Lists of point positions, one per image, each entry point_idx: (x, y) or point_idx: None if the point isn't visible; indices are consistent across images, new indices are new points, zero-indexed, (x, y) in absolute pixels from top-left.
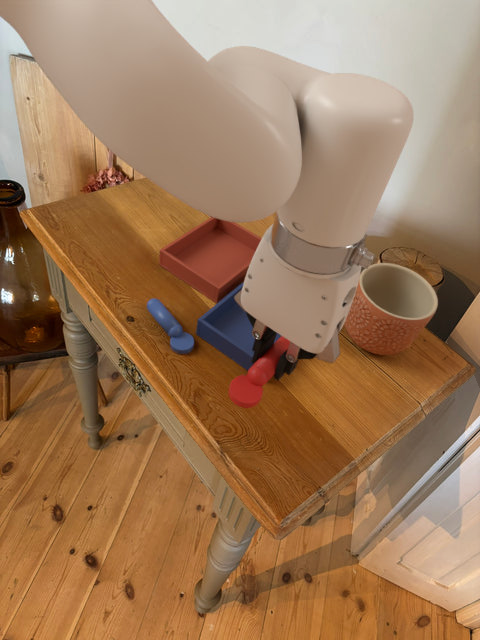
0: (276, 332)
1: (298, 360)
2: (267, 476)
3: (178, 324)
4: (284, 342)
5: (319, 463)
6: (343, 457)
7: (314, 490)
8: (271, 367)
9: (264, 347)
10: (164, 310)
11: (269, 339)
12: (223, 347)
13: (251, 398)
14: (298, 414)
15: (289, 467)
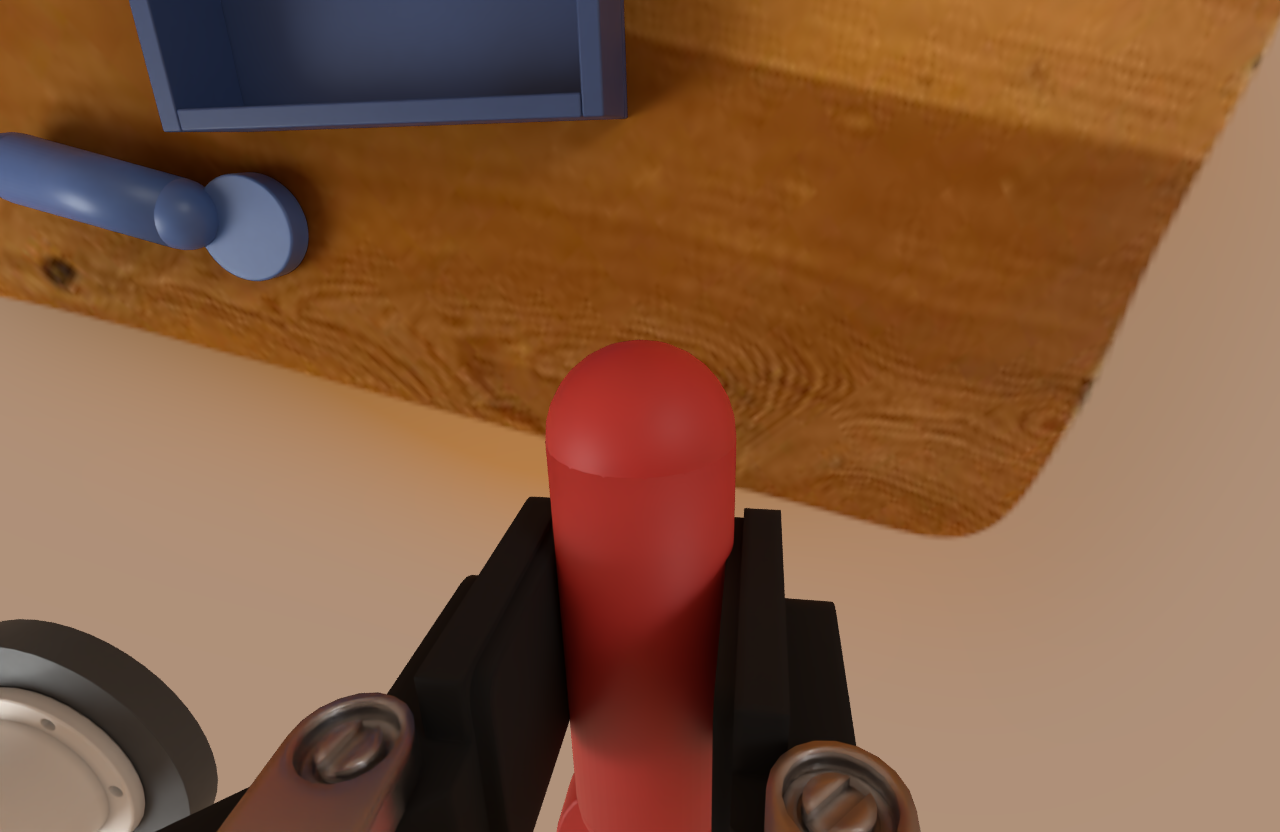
0: (495, 693)
1: (843, 667)
2: (881, 465)
3: (155, 196)
4: (618, 551)
5: (1047, 295)
6: (1146, 194)
7: (1070, 405)
8: (690, 782)
9: (534, 779)
10: (57, 182)
11: (508, 788)
12: (369, 126)
13: None
14: (855, 148)
15: (938, 388)
